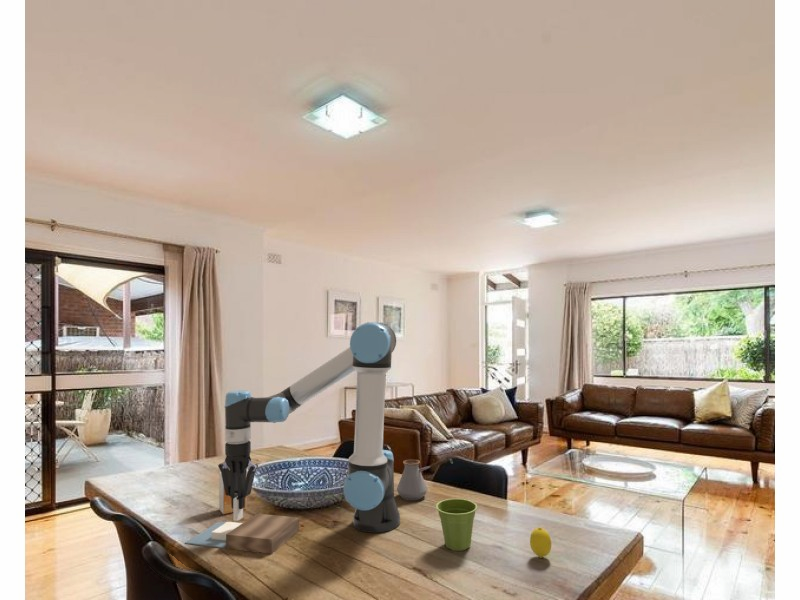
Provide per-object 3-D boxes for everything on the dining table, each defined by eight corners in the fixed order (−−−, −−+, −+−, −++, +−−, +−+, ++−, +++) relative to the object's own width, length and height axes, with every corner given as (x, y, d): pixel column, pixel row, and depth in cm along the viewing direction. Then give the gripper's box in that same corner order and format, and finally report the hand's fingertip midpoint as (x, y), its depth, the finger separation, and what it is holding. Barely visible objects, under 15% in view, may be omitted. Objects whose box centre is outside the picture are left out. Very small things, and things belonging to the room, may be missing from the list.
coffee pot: (393, 501, 174) (392, 459, 175) (401, 490, 185) (401, 451, 186) (450, 505, 168) (449, 462, 169) (456, 494, 179) (455, 454, 180)
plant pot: (430, 541, 140) (429, 502, 141) (466, 534, 144) (464, 496, 145) (448, 558, 129) (447, 516, 130) (486, 550, 133) (485, 509, 134)
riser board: (299, 530, 150) (298, 517, 150) (271, 554, 134) (271, 539, 134) (257, 526, 154) (257, 513, 154) (226, 548, 138) (226, 534, 139)
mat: (255, 526, 154) (255, 525, 154) (223, 548, 139) (223, 547, 139) (219, 522, 158) (219, 521, 158) (184, 543, 142) (184, 542, 142)
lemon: (535, 551, 132) (534, 521, 133) (555, 556, 129) (553, 526, 129) (527, 558, 128) (526, 528, 128) (547, 565, 124) (545, 533, 125)
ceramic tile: (249, 530, 150) (249, 523, 150) (234, 541, 142) (234, 534, 142) (227, 528, 152) (227, 521, 152) (211, 538, 144) (211, 532, 145)
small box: (223, 515, 164) (223, 476, 165) (218, 509, 169) (218, 472, 170) (246, 509, 169) (246, 472, 169) (242, 504, 174) (241, 468, 175)
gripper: (212, 443, 146) (212, 521, 145) (249, 445, 143) (249, 525, 141) (227, 437, 154) (227, 512, 152) (263, 439, 150) (263, 516, 149)
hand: (238, 519), depth 147 cm, fingers closed
